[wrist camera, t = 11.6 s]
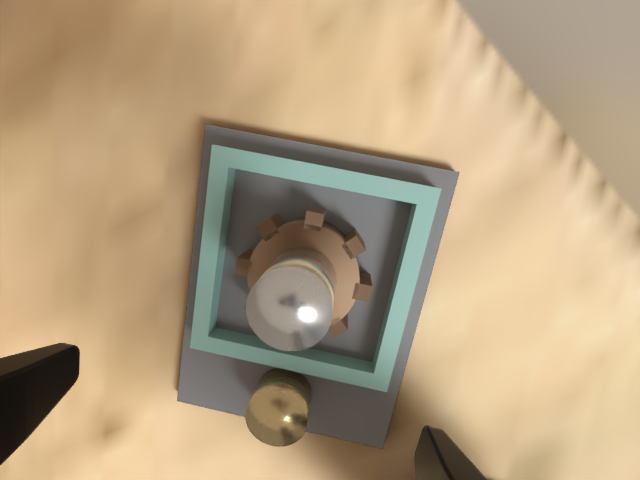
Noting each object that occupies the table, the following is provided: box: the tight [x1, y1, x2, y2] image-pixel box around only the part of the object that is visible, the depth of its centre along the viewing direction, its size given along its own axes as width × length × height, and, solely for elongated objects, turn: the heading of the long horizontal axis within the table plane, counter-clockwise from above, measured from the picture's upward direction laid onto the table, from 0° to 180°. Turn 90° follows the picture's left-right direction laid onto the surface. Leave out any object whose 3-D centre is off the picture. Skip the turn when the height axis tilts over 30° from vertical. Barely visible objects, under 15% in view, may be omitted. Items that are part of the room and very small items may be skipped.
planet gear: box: [235, 206, 372, 351], centre depth 17 cm, size 7×7×6 cm
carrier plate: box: [177, 124, 459, 449], centre depth 19 cm, size 14×18×3 cm
